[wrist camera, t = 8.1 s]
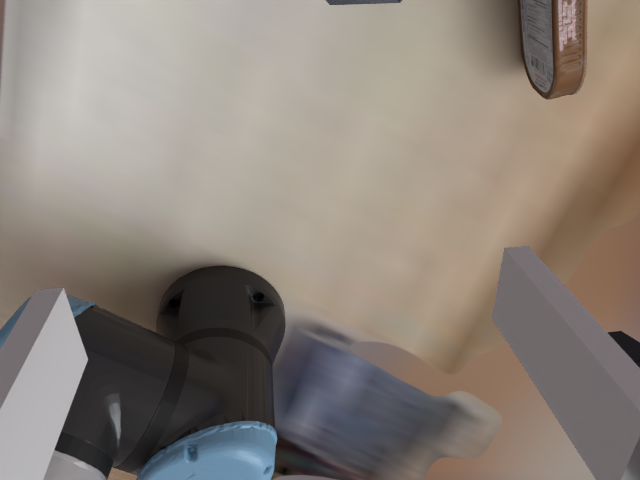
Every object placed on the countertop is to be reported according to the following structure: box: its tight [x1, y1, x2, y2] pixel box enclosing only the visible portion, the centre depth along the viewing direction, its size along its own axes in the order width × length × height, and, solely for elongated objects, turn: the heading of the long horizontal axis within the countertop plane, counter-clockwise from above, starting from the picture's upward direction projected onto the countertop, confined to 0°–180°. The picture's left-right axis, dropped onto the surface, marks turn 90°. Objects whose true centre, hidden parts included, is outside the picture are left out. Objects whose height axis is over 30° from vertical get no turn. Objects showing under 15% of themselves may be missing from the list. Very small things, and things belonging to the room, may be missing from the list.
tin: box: [519, 0, 588, 99], centre depth 45 cm, size 15×3×8 cm, turn 15°
